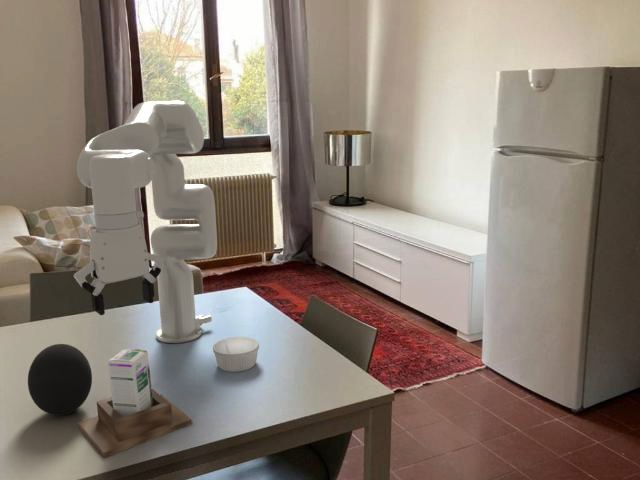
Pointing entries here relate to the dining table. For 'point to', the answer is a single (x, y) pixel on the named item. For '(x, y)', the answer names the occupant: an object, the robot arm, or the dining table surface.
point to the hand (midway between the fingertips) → (124, 307)
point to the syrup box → (130, 381)
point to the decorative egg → (59, 379)
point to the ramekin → (236, 353)
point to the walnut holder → (132, 424)
